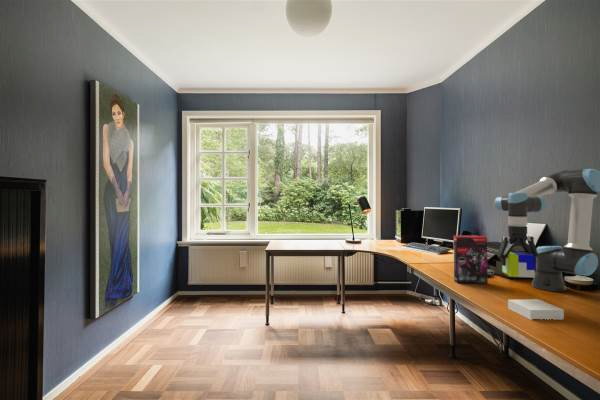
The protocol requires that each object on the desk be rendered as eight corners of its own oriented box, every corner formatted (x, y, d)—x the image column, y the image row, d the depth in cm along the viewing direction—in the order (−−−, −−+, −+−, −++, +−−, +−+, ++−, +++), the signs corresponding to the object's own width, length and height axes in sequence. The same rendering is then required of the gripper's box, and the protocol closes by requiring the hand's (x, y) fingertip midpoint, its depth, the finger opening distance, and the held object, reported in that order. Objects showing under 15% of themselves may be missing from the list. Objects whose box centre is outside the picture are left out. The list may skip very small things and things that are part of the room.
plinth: (538, 308, 153) (538, 299, 153) (563, 319, 139) (563, 309, 139) (508, 308, 152) (508, 299, 152) (530, 319, 138) (530, 310, 138)
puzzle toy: (534, 277, 154) (534, 255, 153) (510, 276, 156) (510, 255, 155) (524, 272, 163) (524, 251, 163) (501, 271, 165) (501, 251, 165)
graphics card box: (456, 283, 196) (456, 236, 196) (452, 280, 203) (453, 234, 203) (488, 284, 194) (488, 236, 194) (483, 281, 201) (483, 235, 201)
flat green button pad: (465, 270, 234) (465, 263, 234) (495, 274, 222) (495, 267, 222) (458, 274, 220) (458, 267, 220) (490, 279, 209) (490, 271, 208)
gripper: (536, 224, 163) (536, 269, 164) (488, 225, 162) (488, 270, 163) (548, 225, 156) (548, 273, 156) (498, 226, 155) (498, 274, 155)
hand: (517, 272), depth 160 cm, fingers closed on puzzle toy, 11 cm apart
